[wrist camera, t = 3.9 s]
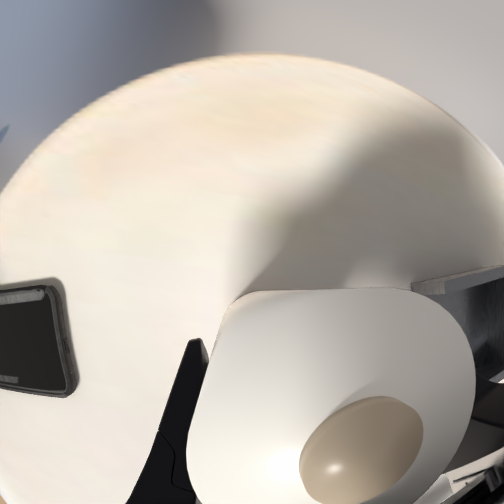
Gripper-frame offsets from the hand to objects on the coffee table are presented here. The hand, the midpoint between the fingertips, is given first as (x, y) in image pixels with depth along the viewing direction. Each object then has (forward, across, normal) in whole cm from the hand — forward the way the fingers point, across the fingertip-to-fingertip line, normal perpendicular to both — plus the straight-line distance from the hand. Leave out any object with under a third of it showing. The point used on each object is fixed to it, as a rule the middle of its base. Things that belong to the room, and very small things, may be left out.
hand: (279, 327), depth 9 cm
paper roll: (+4, 0, +6) cm, 7 cm away
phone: (+6, +20, +5) cm, 22 cm away
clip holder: (+1, -15, +9) cm, 17 cm away
